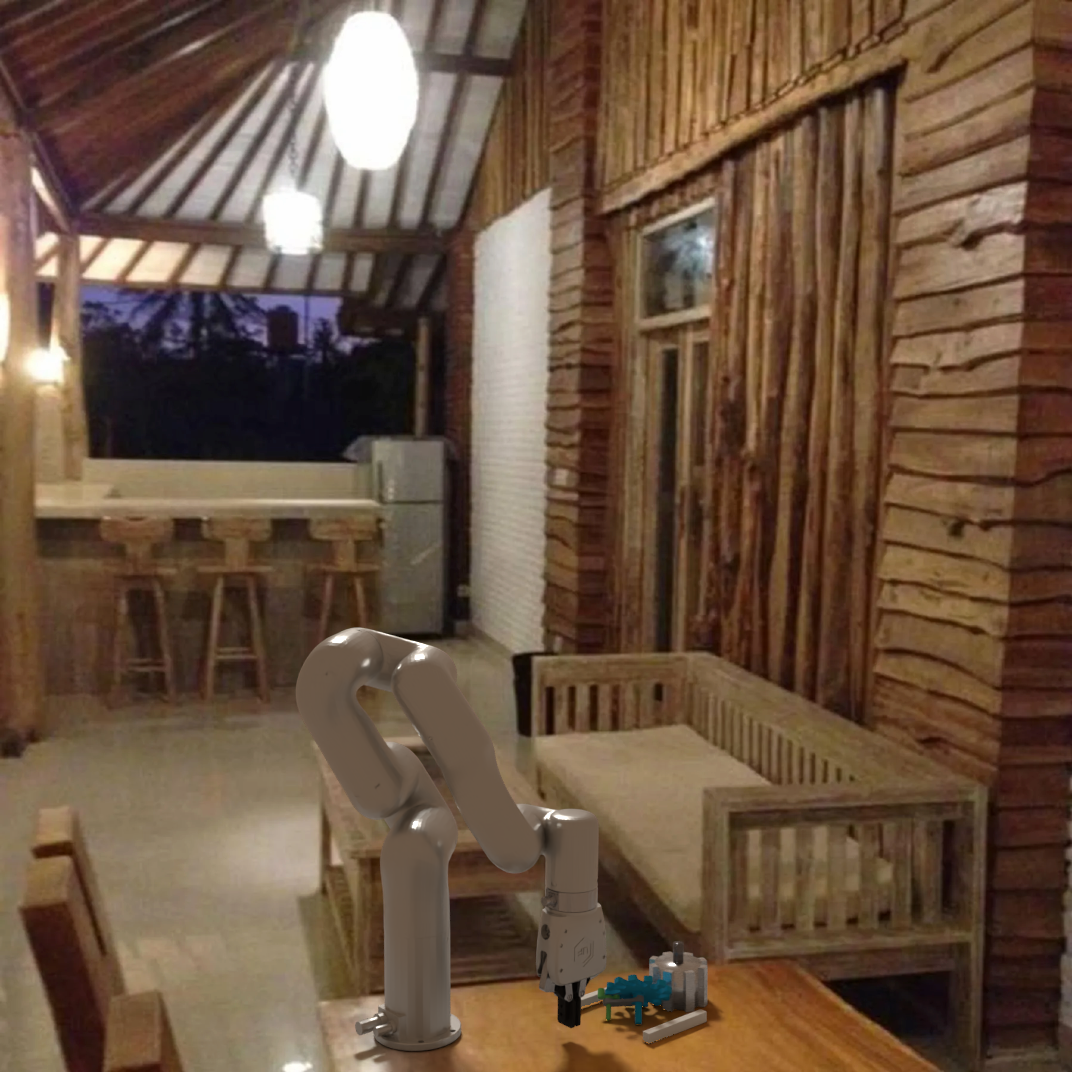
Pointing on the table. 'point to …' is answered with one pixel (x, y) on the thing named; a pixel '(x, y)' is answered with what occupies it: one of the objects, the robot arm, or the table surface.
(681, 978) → the sun gear
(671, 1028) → the guide rails
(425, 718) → the robot arm
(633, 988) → the gear
